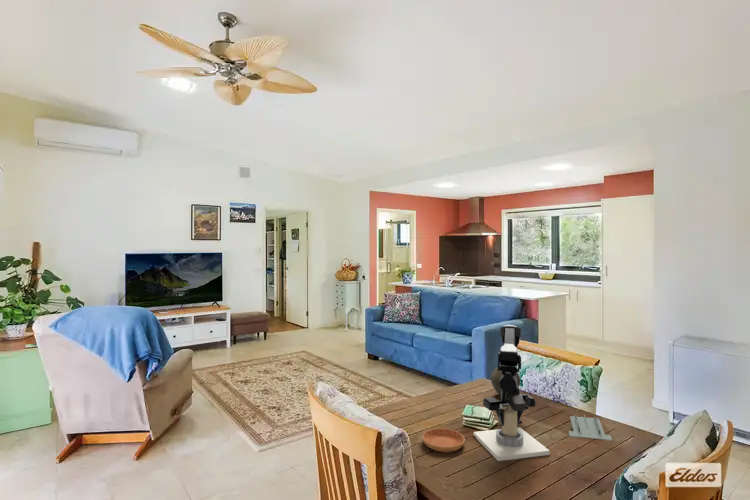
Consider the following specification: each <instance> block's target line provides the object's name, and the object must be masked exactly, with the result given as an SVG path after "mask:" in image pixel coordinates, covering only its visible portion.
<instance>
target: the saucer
mask: <svg viewBox="0 0 750 500" xmlns="http://www.w3.org/2000/svg"><path fill="white" fill-rule="evenodd" d="M421 438H422V442H423V443H424V444H425V445H426V446H427V447H428V448H429V449H430V448H431V449H430V450H432V449H433V450H432V451H434V450H435V452H438V451H439V452H438V453H454V452H456V451H458V450H460V449H461V448H462V447H463V446H464V445H465V443H466V442H465V441H466V438H465V436H464V435H463V434H462V433H460V432H459V431H456V430H453V429H449V428H432V429H429V430H427V431H424V432H423V434H422V436H421ZM453 451H454V452H453Z"/></svg>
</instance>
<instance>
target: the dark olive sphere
mask: <svg viewBox="0 0 750 500" xmlns="http://www.w3.org/2000/svg"><path fill="white" fill-rule="evenodd" d="M501 366H505V365H500V367H501ZM500 378H501V371H498V366H497V367H495V368H494V369H493V371H492V372H491V375H490V382H491V384H492V387H493V389H494V391H495V392H496V393H498V394H499V396H500V395H501V388H500ZM517 385H518V387H519V388H520V386H521V377H520V374H519V372H517Z"/></svg>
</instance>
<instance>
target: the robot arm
mask: <svg viewBox="0 0 750 500" xmlns="http://www.w3.org/2000/svg"><path fill="white" fill-rule="evenodd" d="M499 331H500V334H499V336H500V337H499V338H501V341H502V344H503V345H502V346H501V347H500V349H499V350H500V351H499V352H498V353H497V367H498V371H501V378H500V388H501V395H500V394H499V398H500V399H496V398H495V397H485V398H484V399H482V400H483V401H482V405H483V406H484V407H485V408H486V409H487V410H489V411H491V412H493V411H495V412H494V413H496V416H497V418H498V421H499V423H500V425H501V427H502V426H503V425H504V417H503V413H504V411H505V410H504V409H503V408H504V407H505V406H507V405H510V406H511V407H512V409H513V410H514V411H517V425H519V423H522V422H523V420H522V419H521V418H522V415H523V413H524V411H526V410H528V409H529V408H532V407H533V408H534V407H536V399H535V397H532V396H531V395H529V394H524V393H523V394H522V393H520V391H521V390H520V389H521V388H520V386H519V387H518V385H517V372H518V373H520V370H522V356H521V354H520V353H519V352H518V351H519V350H518V348H517V347H518V346H519V344H520V340H521V339H522V329H521V328H520V327H517V325H510V324H505V325H503V326H502V327H500V330H499ZM502 365H505V366H502ZM500 366H501V367H500Z"/></svg>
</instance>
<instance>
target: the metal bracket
mask: <svg viewBox="0 0 750 500" xmlns="http://www.w3.org/2000/svg"><path fill="white" fill-rule="evenodd" d="M569 419H570V424H571V426H572V430H568V436H569V437H571V438H577V439H579V438H582V439H593V440H600V441H609V442H612V441H613V438H612V435H611V434H606V433H605V431H604V429H603V426H602V423H601V421H600V418H597V417H596V416H593V417H586V415H585V414H583V416H577V415H576V414H574V415H573V416H572V415H571V416H569Z"/></svg>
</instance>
